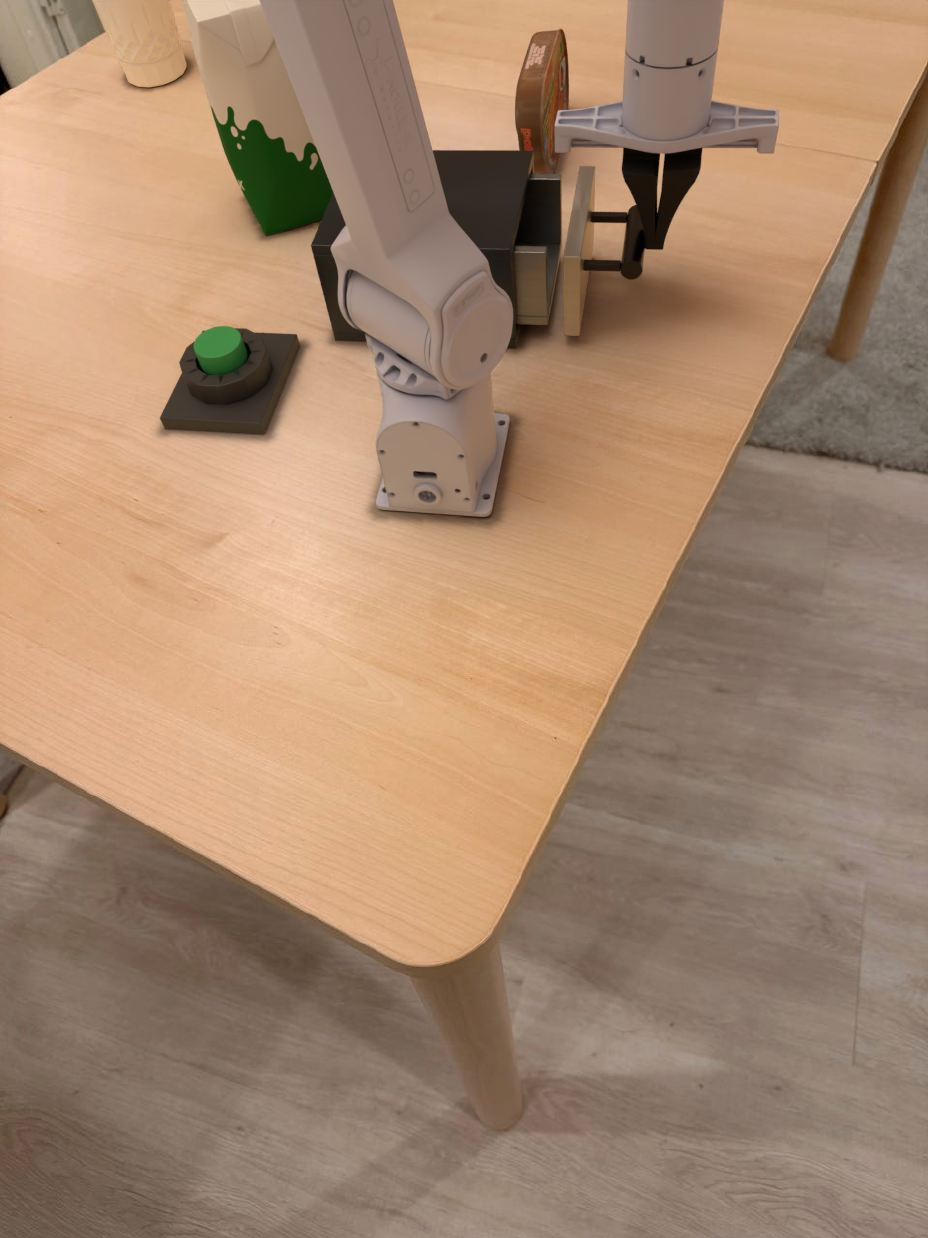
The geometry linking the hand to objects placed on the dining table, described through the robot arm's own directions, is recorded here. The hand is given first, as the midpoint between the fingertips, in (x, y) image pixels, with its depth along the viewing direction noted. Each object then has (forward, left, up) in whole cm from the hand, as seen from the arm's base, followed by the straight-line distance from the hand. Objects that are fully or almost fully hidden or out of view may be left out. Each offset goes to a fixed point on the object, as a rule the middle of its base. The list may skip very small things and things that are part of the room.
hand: (654, 241), depth 69 cm
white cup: (+37, +56, -5) cm, 67 cm away
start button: (-12, +31, -3) cm, 33 cm away
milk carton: (+12, +33, -5) cm, 36 cm away
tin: (+22, +11, -5) cm, 25 cm away
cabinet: (0, +17, -5) cm, 18 cm away
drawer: (0, +10, -4) cm, 11 cm away
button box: (-12, +31, -5) cm, 34 cm away
